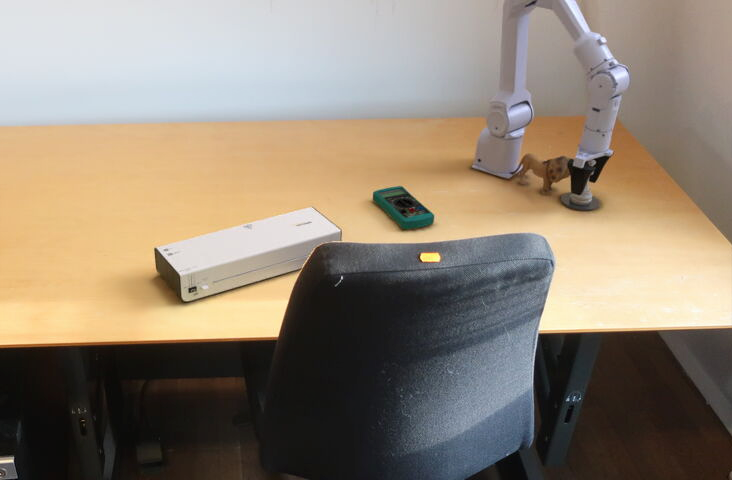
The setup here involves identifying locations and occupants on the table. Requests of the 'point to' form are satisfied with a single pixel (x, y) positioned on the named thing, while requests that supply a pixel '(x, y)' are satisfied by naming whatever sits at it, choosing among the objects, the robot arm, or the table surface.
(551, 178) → the lion figurine
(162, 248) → the laminator
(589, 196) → the chess piece
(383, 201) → the digital multimeter
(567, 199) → the coaster
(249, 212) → the table surface
